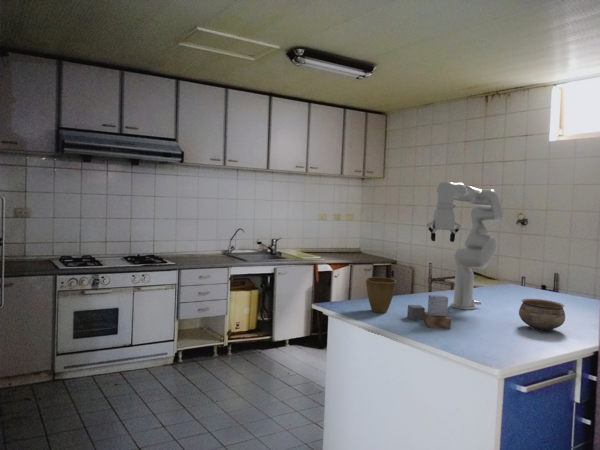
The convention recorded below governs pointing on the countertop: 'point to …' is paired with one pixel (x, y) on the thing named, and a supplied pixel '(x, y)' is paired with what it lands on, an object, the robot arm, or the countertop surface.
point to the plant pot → (380, 293)
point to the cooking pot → (542, 314)
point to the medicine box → (437, 305)
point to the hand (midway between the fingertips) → (442, 241)
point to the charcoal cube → (416, 312)
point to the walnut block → (437, 321)
